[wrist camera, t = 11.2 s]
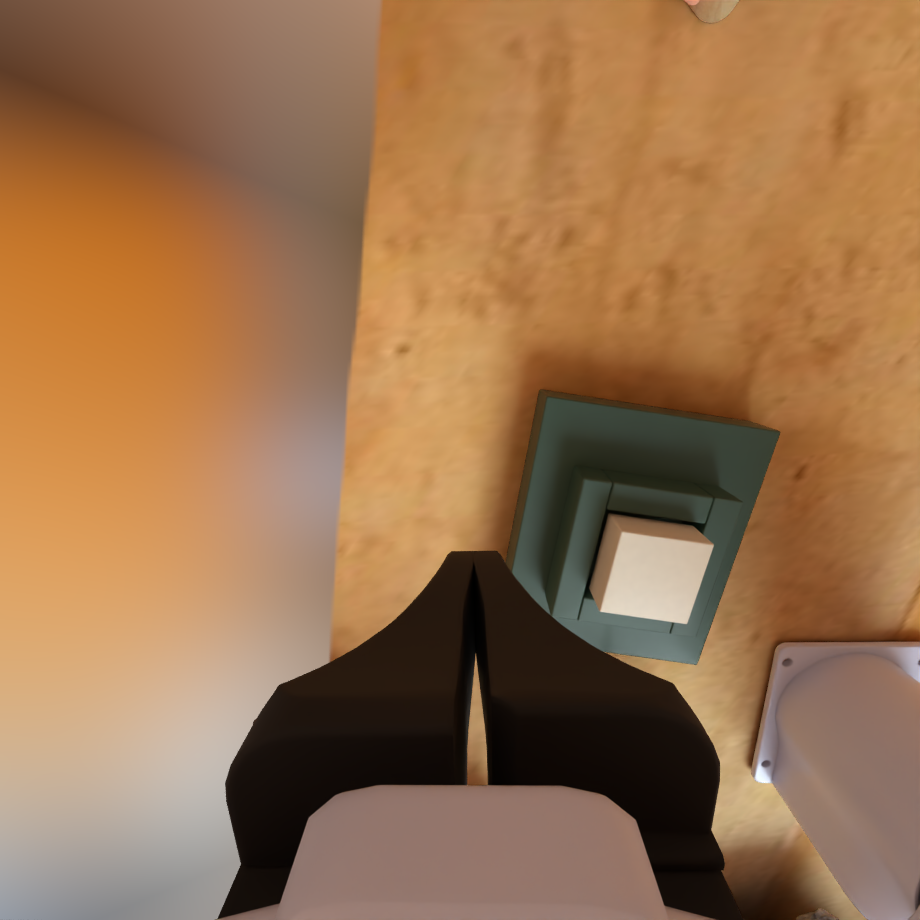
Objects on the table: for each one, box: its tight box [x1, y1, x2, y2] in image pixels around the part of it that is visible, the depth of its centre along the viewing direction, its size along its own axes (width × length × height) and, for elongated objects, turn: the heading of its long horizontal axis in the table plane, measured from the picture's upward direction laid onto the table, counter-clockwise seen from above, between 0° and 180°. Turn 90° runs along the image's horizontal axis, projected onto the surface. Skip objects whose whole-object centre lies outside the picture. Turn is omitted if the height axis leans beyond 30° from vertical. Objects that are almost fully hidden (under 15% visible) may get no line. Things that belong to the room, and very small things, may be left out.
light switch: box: [505, 390, 780, 665], centre depth 21 cm, size 12×10×4 cm
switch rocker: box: [589, 513, 714, 624], centre depth 18 cm, size 4×4×2 cm
